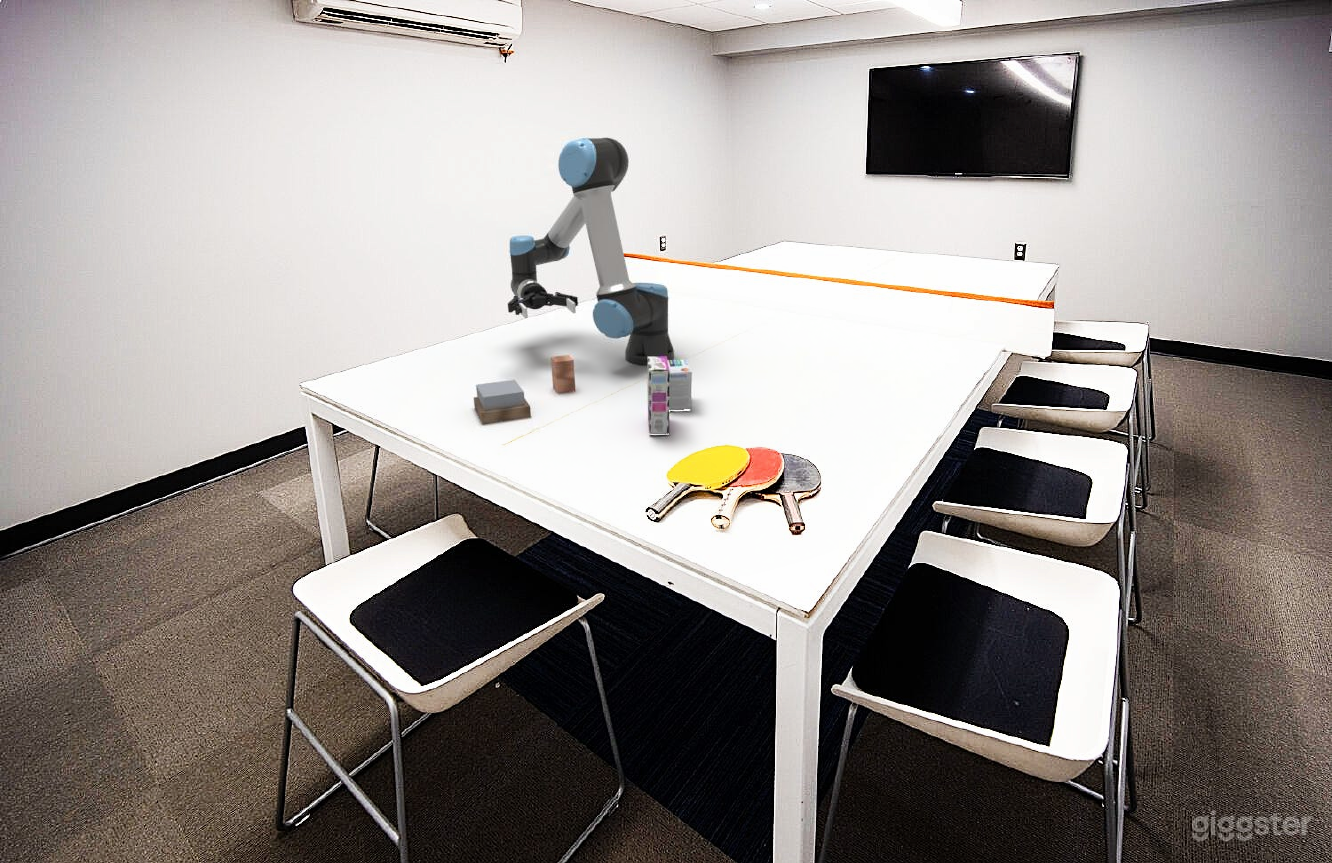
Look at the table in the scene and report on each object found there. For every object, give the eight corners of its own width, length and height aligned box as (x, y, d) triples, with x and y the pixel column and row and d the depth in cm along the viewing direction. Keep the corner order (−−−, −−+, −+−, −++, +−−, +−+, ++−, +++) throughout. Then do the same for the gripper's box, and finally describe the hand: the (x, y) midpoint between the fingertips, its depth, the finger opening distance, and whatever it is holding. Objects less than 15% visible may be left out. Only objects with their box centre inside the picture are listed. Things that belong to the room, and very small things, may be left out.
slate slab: (515, 392, 191) (514, 379, 190) (524, 404, 183) (523, 391, 182) (477, 397, 188) (475, 384, 186) (484, 410, 179) (483, 397, 178)
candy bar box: (670, 436, 172) (670, 369, 165) (649, 436, 171) (648, 370, 165) (667, 418, 182) (667, 355, 175) (647, 418, 182) (646, 355, 175)
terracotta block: (570, 385, 204) (568, 354, 201) (575, 391, 200) (573, 359, 197) (553, 388, 203) (550, 357, 199) (557, 393, 198) (555, 362, 195)
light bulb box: (662, 398, 195) (662, 359, 191) (687, 397, 195) (687, 358, 191) (666, 412, 185) (665, 372, 181) (692, 411, 186) (692, 371, 181)
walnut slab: (520, 403, 194) (519, 390, 192) (531, 419, 183) (530, 406, 182) (474, 410, 189) (473, 397, 188) (482, 426, 179) (481, 413, 178)
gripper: (573, 302, 225) (594, 319, 208) (492, 311, 217) (506, 328, 199) (572, 278, 222) (593, 293, 205) (489, 285, 214) (504, 301, 196)
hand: (550, 310), depth 202 cm, fingers open, 13 cm apart
